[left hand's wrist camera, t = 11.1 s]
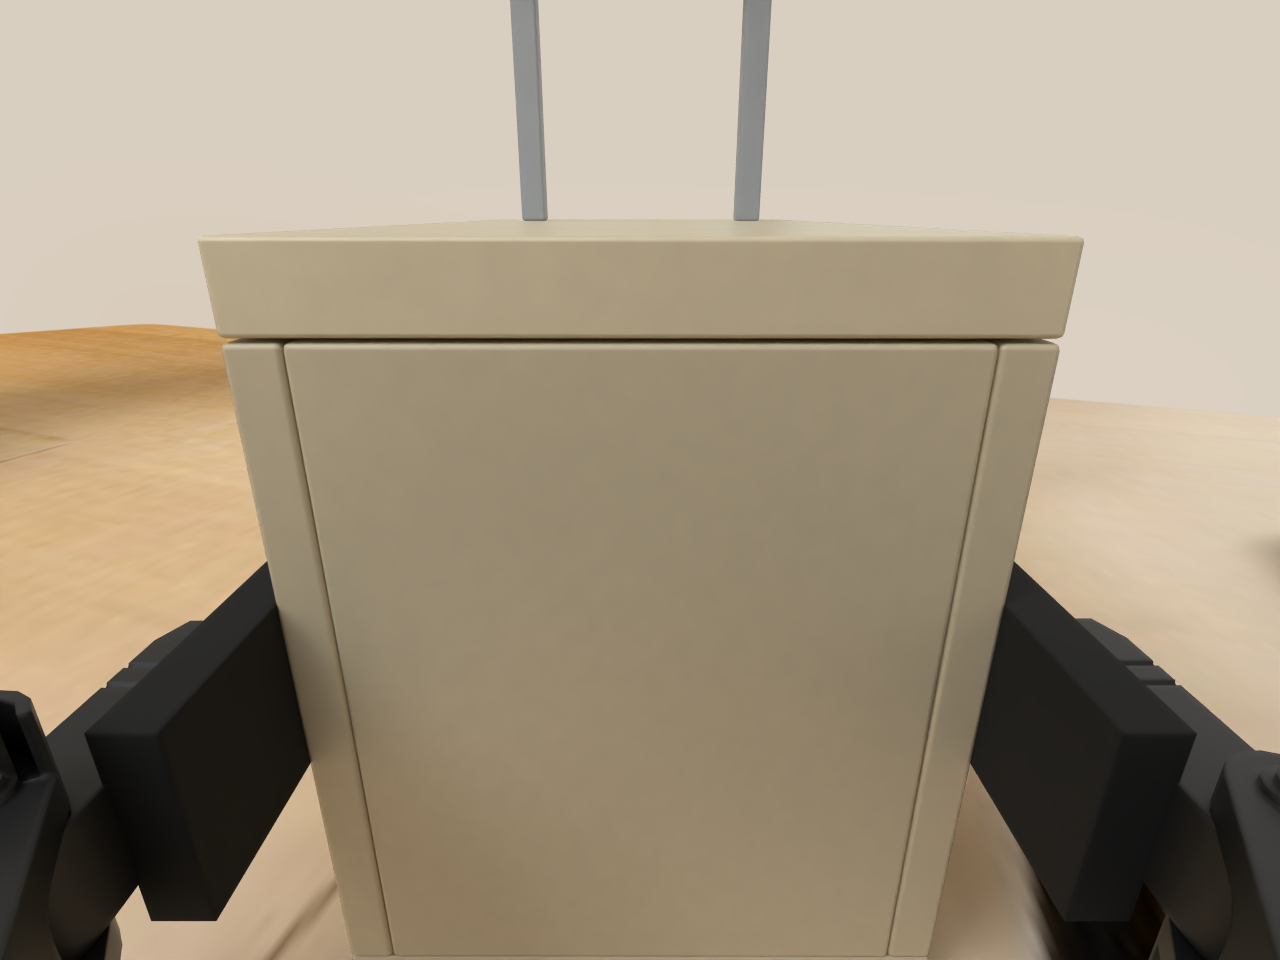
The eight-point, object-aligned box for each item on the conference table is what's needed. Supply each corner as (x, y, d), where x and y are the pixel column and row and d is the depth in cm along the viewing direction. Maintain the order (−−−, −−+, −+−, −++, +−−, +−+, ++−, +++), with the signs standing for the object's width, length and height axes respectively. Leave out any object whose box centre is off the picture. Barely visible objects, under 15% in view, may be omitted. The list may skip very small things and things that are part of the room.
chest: (518, 545, 28) (498, 256, 24) (762, 545, 28) (782, 256, 24) (357, 986, 12) (216, 343, 8) (923, 987, 12) (1064, 343, 8)
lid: (502, 253, 25) (482, -38, 22) (778, 253, 25) (798, -38, 22) (215, 339, 8) (-48, -876, 5) (1064, 339, 8) (1330, -875, 5)
